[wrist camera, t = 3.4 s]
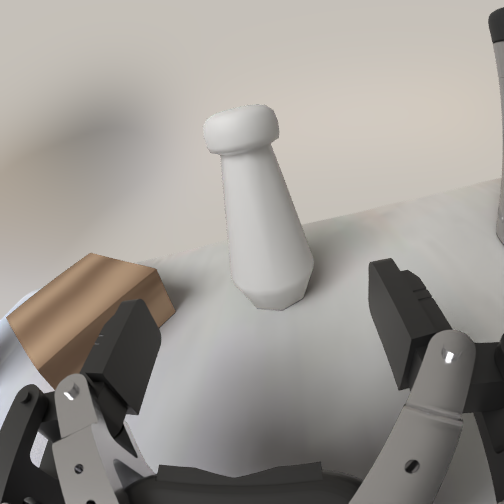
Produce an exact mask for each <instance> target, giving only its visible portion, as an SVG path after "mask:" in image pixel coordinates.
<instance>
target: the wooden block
mask: <svg viewBox="0 0 504 504" xmlns="http://www.w3.org/2000/svg"><path fill="white" fill-rule="evenodd" d="M134 299H142V300H144V302H145V303H146V305H147V307H148V309H149V311H150V313H151V315H152V317H153V318H154V320H155V322H156V324H157V326H158V328H159V327H160V326H161V325H162V324H163V323H164V322H165V321H167V320H168V319H169V318H170V317H171V316H172V315H173V314H174V313H175V309H174V307H173V305H172V303H171V301H170V299H169V296H168V294H167V292H166V290H165V288H164V285H163V283H162V281H161V279H160V276H159V274H158V272H157V269H155V268H151V267H146V266H142V265H138V264H134V263H129V262H125V261H121V260H117V259H113V258H109V257H105V256H101V255H97V254H93V253H90V254H88V255H87V256H85V257H84V258H82V259H81V260H80V261H78V262H77V263H75V264H74V265H73V266H71V267H70V268H68V269H67V270H66V271H65V272H63V273H62V274H60V275H59V276H58V277H56V278H55V279H54V280H52V281H51V282H50V283H48V284H47V285H46V286H44V287H43V288H42V289H41V290H39V291H38V292H37V293H35V294H34V295H33V296H32V297H30V298H29V299H28V300H27V301H25V302H24V303H23V304H22V305H21V306H19V307H18V308H17V309H16V310H14V311H13V312H12V313H11V314H10V315H8V316H7V317H6V318H7V320H8V322H9V324H10V326H11V328H12V330H13V331H14V333H15V335H16V337H17V338H18V340H19V342H20V343H21V345H22V347H23V348H24V350H25V352H26V353H27V355H28V357H29V358H30V360H31V361H32V363H33V364H34V366H35V367H36V369H37V370H38V371H39V373H40V374H41V375H42V376H43V377H44V378H45V380H46V381H47V382H48V383H49V384H50V385H51V386H52V387H53V388H54V390H56V388H57V386H58V384H59V383H60V382H61V381H62V380H63V379H64V378H66V377H67V376H69V375H72V374H79V373H80V371H81V369H82V367H83V364H84V362H85V361H86V359H87V357H88V355H89V353H90V351H91V349H92V347H93V345H95V341H96V339H97V337H99V334H100V332H101V330H102V328H103V326H104V324H105V323H106V322H107V321H108V320H109V319H110V318H111V317H112V316H113V315H114V314H115V313H116V311H117V309H118V307H119V305H120V304H121V302H122V301H127V300H134Z"/></svg>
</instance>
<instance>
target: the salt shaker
mask: <svg viewBox="0 0 504 504" xmlns="http://www.w3.org/2000/svg"><path fill="white" fill-rule="evenodd" d="M203 131H204V139H205V142H206V145H207V148H208V150H209V151H210V153H215V154H220V156H221V167H222V180H223V192H224V202H225V214H226V225H227V235H228V246H229V258H230V270H231V279H232V281H233V283H234V285H235V286H236V287H237V288H238V289H239V290H240V291H241V292H242V293H243V294H244V295H245V296H246V297H247V298H248V299H249V300H250V301H251V302H252V303H253V305H254V306H255V307H256V308H257V309H268V310H280V311H282V310H284V309H286V308H287V307H289V306H291V305H292V304H294V303H296V302H297V301H299V300H301V299H303V297H304V294H305V291H306V288H307V285H308V282H309V279H310V276H311V273H312V270H313V267H314V258H313V256H312V253H311V250H310V247H309V245H308V242H307V239H306V236H305V234H304V231H303V228H302V226H301V223H300V221H299V218H298V215H297V213H296V210H295V207H294V204H293V202H292V199H291V196H290V194H289V191H288V188H287V185H286V183H285V180H284V177H283V175H282V172H281V170H280V167H279V164H278V162H277V159H276V156H275V154H274V152H273V149H272V146H271V143H272V142H273V141H274V140H276V139H277V138H279V126H278V120H277V118H276V115H275V113H274V111H273V110H272V109H271V108H269V107H268V106H266V105H259V104H256V105H248V106H243V107H238V108H234V109H229V110H225V111H222V112H219V113H216V114H214V115H213V116H211V117H209V118H208V119H207V120H206V122H205V124H204V126H203Z"/></svg>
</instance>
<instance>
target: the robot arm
mask: <svg viewBox="0 0 504 504" xmlns="http://www.w3.org/2000/svg"><path fill="white" fill-rule="evenodd" d="M488 23H489V29H490V33H491V37H492V42H493V47H494V52H495V58H496V64H497V71H498V77H499V85H500V95H501V106H502V125H503V164H502V182H501V194H500V204H499V209H498V220H497V227H496V232H497V235H498V237H499V239H500V240H501V242H502V243H503V244H504V7H503V8H500V9H497V10H496V11H494V12H492V13H491V14H490V16H489V21H488ZM368 299H369V308H370V313H371V316H372V318H373V321H374V323H375V326H376V329H377V331H378V334H379V336H380V339H381V342H382V344H383V347H384V350H385V352H386V355H387V358H388V361H389V363H390V366H391V369H392V372H393V375H394V378H395V381H396V384H397V387H398V390H403V389H406V388H410V391H411V393H410V395H409V397H408V400H407V402H406V404H405V405H404V406H403V408H402V411H401V413H400V415H399V417H398V419H397V421H396V423H395V425H394V427H393V429H392V431H391V433H390V435H389V437H388V439H387V441H386V443H385V445H384V447H383V448H382V450H381V452H380V454H379V456H378V457H377V459H376V461H375V463H374V464H373V466H372V468H371V469H370V471H369V473H368V474H367V476H366V478H365V479H364V481H363V480H361V479H359V478H357V477H354V476H352V475H349V474H345V473H342V472H336V471H329V470H322V466H321V462H316V463H309V464H301V465H291V466H280V467H275V468H272V469H269V470H265V471H261V472H258V473H254V474H250V475H246V476H242V477H237V478H231V477H227V476H223V475H219V474H215V473H211V472H208V471H204V470H201V469H197V468H192V467H178V466H167V465H159V468H158V473H157V474H155V473H154V472H153V470H152V469H151V468H150V467H149V466H148V465H147V463H146V462H145V460H144V458H143V456H142V454H141V452H140V450H139V448H138V445H137V443H136V441H135V439H134V437H133V435H132V432H131V430H130V428H129V425H128V424H127V422H126V421H125V420H124V419H125V416H126V414H131V415H139V412H140V408H141V405H142V402H143V398H144V395H145V392H146V388H147V385H148V382H149V379H150V376H151V373H152V369H153V366H154V363H155V360H156V357H157V354H158V351H159V348H160V345H161V333H160V330H159V328H158V326H157V324H156V322H155V320H154V318H153V317H152V315H151V313H150V311H149V309H148V307H147V305H146V303H145V302H144V300H142V299H134V300H127V301H122V302H121V304H120V305H119V307H118V309H117V311H116V313H115V314H114V315H113V316H112V317H111V318H110V319H109V320H108V321H107V322H106V323H105V324H104V326H103V328H102V330H101V332H100V334H99V337H97V339H96V341H95V345H93V347H92V349H91V351H90V353H89V355H88V357H87V359H86V361H85V362H84V364H83V367H82V369H81V371H80V373H79V374H72V375H69V376H67V377H66V378H64V379H63V380H62V381H61V382H60V383H59V384H58V386H57V388H56V390H55V391H53V392H49V393H43V392H42V391H41V390H40V389H39V388H38V387H37V386H36V385H34V384H30V385H27V386H25V387H23V388H22V389H21V390H20V391H19V392H18V393H17V395H16V397H15V399H14V401H13V403H12V405H11V407H10V410H9V412H8V414H7V416H6V418H5V421H4V423H3V425H2V428H1V430H0V504H432V503H433V501H434V499H435V497H436V494H437V492H438V490H439V488H440V486H441V484H442V481H443V479H444V477H445V475H446V472H447V470H448V467H449V465H450V462H451V460H452V457H453V454H454V452H455V449H456V446H457V443H458V440H459V437H460V434H461V431H462V427H463V420H461V415H462V413H472V412H473V413H474V416H475V419H476V422H477V425H478V428H479V431H480V435H481V438H482V441H483V445H484V448H485V452H486V456H487V460H488V463H489V467H490V472H491V476H492V480H493V485H494V490H495V495H496V501H497V504H504V334H503V335H502V337H501V340H500V342H494V343H474V342H473V341H472V339H471V338H470V337H469V336H468V335H466V334H465V333H463V332H460V331H457V330H453V329H452V328H451V326H450V325H449V323H448V321H447V320H446V318H445V316H444V315H443V313H442V311H441V310H440V308H439V307H438V305H437V304H436V302H435V300H434V299H433V298H432V296H431V294H430V293H429V291H428V290H426V287H425V285H424V284H423V282H422V281H421V279H420V278H419V277H418V276H416V275H415V274H413V273H412V272H410V271H409V270H405V271H400V270H399V268H398V267H397V265H396V264H395V262H394V261H393V259H391V258H388V259H383V260H378V261H373V262H370V263H369V296H368ZM37 432H40V433H41V434H42V435H43V436H44V437H46V438H47V439H48V442H47V445H46V448H45V451H44V454H43V457H42V461H41V464H40V467H39V468H38V467H36V466H35V465H34V464H33V463H32V462H31V459H30V451H31V448H32V445H33V443H34V440H35V437H36V434H37Z"/></svg>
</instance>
